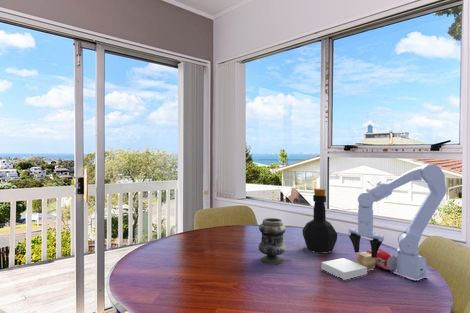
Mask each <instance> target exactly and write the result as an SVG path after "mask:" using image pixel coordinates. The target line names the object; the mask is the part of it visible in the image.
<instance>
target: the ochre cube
mask: <svg viewBox="0 0 470 313" xmlns="http://www.w3.org/2000/svg"><path fill="white" fill-rule="evenodd" d="M355 255H356V256H355V257H356V261H355V263H357V264H360V265H363V266H365V267H367V270H369V269H374V268H375V269H376V265H375V258H372V256H371V254H370V253H367V251H361V252H357V253H355Z"/></svg>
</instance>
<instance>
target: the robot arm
mask: <svg viewBox="0 0 470 313" xmlns="http://www.w3.org/2000/svg"><path fill="white" fill-rule="evenodd" d="M445 177H446V175H445V173H444V171H443V169H442V168H441V166H439V165H436V164H433V163H432V164H431V163H425V164H424V165H422V166H419V167H415V168H413V169H411V170H408V171H407V172H405V173H403V174H402V175H400V176H398V177H396V178H394V179H393V180H391V181H390V182H385V181H382V182H380V181H379V182H377V183H376V185H375V186H372V187H371V188H367V189H366V190H365V191H363V192H360V194H359V195H358V197H357V202H358V205H357V206H358V209H357V228H356V229H355V228H348V238H349V239H350V241H351V244H352V246H353V250H354V253H355V254H356V253H360V243H361V237H364V238H367V239H370V240H369V243H370V248H371V256H372V258H375V257H376V255H377V252H378V249H380V247H381V245H382V243H383V242H385V239H384V238H385V236H384V235H383V234H379V233H376V232H374V210H373V207H374V206H373V205H374V202H376V203H378V202H379V201H381V200H383V199H386V198H388V197H389V196H391V195H392V193H393V190H395V189H398V188H400V187H402V186H404V185H406V184H408V183H410V182H413V181H423V180H424V182H425V184H426V186H427V187H428V190H429V191H428V193H427V195H426V197H425V198H424V200H423V202H422V203H421V205H420V207H419V208H418V210H417V212H416V213H415V215H414V217H413V218H412V220H411V222H410V224H409V225H408V226H407V228H405V230H404V231H403V232H402V233H400V234H399V235H398V237H397V243H398V248H397V249H396V257H397V269H396V271H397V272H398V273H399V274H401V275H404V276H408V277H411V278H414V279H420V278H423V277H426V276H427V260H426V258H425V257H424V256H422V255H420V254H419V251H418V250H419V243H420V241H421V238H422V236H423V232H424V231H425V229H426V228H427V227H428V225H429V222H430V221H431V219H432V217H433V216H434V215H435V212H436V211H437V209H439V208H438V207H439V206H440V204H441V202H442V201H443V199H444V197H445V196H446V195H447V184H446V178H445Z"/></svg>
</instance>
